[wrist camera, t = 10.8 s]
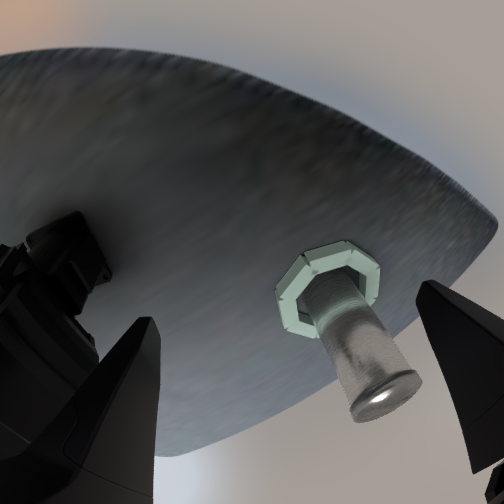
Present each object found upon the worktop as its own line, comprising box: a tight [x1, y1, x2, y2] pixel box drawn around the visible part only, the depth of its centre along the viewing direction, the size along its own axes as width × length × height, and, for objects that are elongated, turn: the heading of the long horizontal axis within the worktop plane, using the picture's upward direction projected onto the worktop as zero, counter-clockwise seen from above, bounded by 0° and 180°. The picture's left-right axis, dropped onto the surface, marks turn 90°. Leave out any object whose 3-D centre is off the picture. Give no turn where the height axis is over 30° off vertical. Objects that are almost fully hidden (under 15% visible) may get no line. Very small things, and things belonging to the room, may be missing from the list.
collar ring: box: [275, 241, 380, 339], centre depth 25 cm, size 10×10×2 cm
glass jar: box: [302, 268, 422, 423], centre depth 20 cm, size 5×5×13 cm
